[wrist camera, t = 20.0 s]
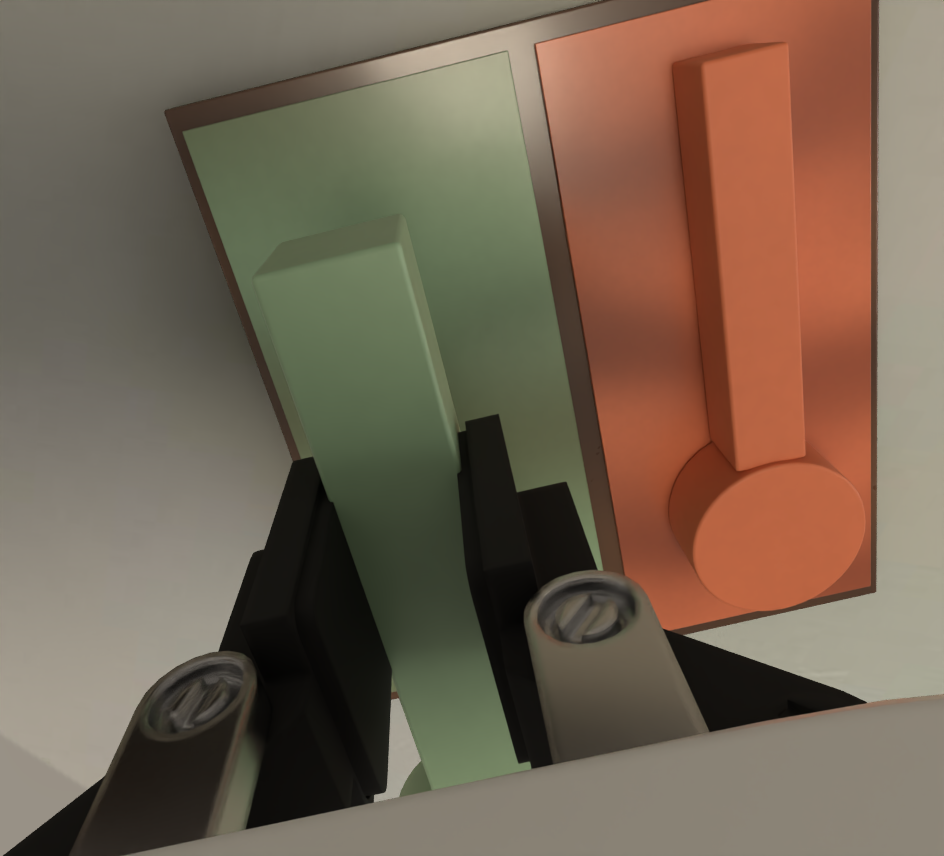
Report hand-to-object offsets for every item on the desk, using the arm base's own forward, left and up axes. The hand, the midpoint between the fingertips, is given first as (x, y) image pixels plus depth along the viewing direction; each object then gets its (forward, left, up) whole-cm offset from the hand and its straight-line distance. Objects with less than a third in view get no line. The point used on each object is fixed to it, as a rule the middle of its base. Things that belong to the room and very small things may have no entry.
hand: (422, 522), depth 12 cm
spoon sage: (+2, 0, -1) cm, 3 cm away
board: (+2, +4, -9) cm, 10 cm away
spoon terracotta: (+2, +8, -8) cm, 12 cm away
